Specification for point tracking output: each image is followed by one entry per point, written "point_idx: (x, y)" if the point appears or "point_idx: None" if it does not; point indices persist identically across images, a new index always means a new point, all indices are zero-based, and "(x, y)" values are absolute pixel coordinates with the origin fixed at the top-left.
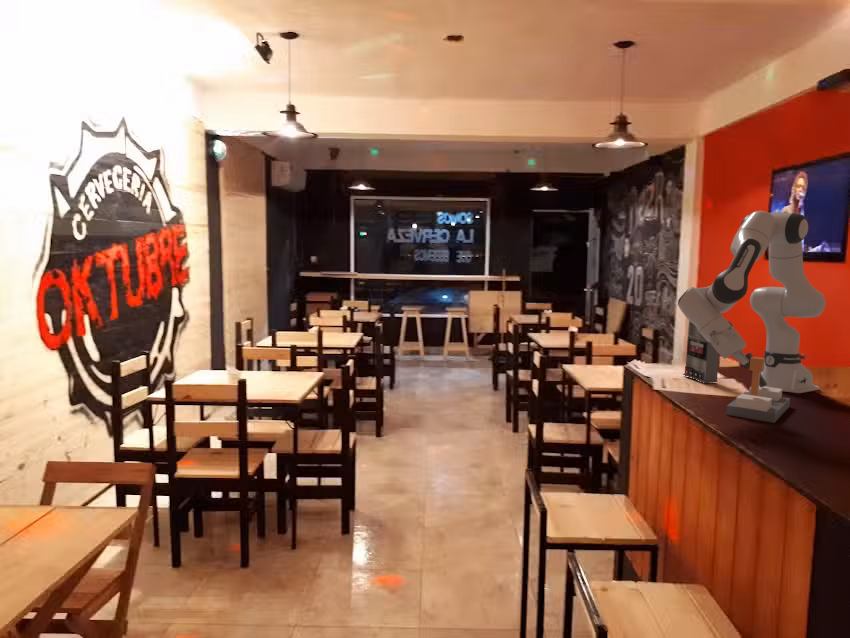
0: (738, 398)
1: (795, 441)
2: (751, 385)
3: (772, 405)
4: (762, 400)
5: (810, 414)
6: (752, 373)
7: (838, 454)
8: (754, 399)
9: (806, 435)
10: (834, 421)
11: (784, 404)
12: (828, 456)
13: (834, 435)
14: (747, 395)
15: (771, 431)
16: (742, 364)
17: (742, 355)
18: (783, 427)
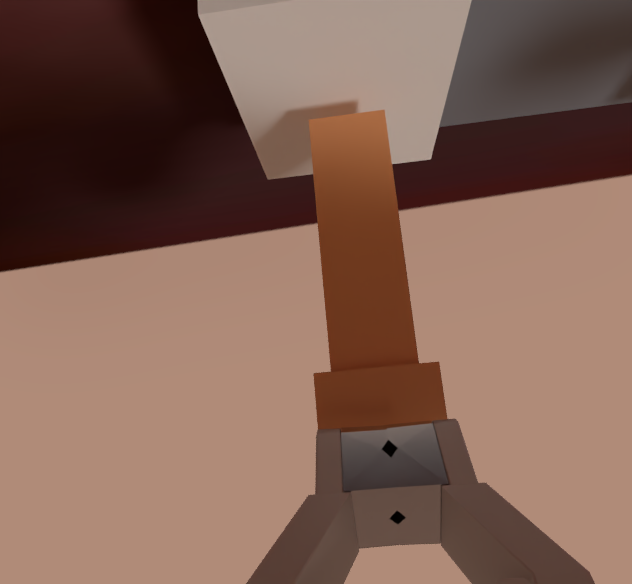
0: (205, 26)
1: (47, 203)
2: (318, 211)
3: (496, 85)
4: (299, 153)
5: (598, 124)
6: (329, 339)
7: (69, 258)
8: (279, 123)
9: (176, 197)
10: (495, 185)
11: (583, 106)
12: (17, 256)
13: (271, 221)
14: (414, 42)
15: (71, 136)
16: (318, 441)
17: (481, 580)
18: (211, 138)
